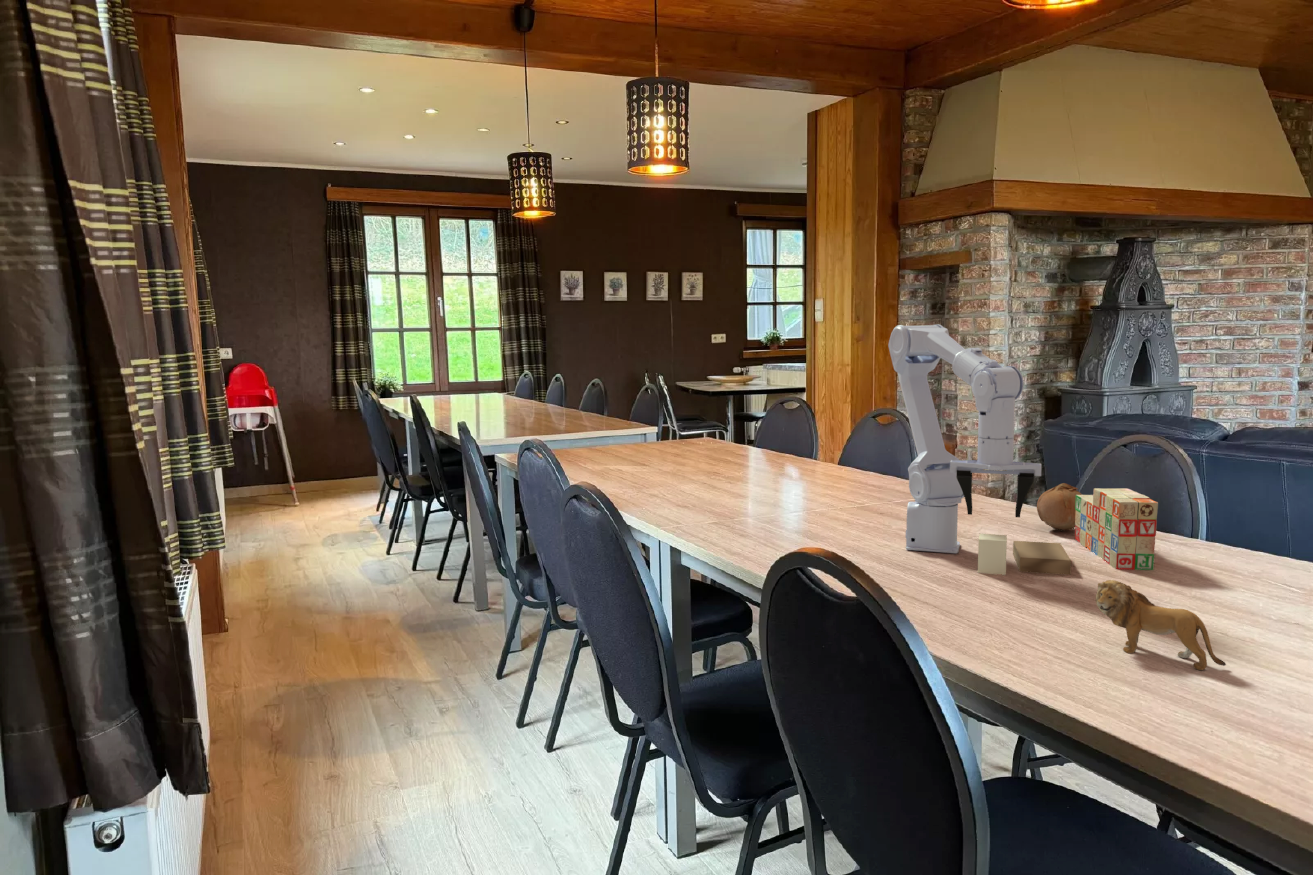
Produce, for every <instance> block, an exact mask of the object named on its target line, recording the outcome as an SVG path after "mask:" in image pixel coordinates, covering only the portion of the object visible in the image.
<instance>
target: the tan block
mask: <svg viewBox="0 0 1313 875" xmlns="http://www.w3.org/2000/svg"><path fill="white" fill-rule="evenodd" d="M1012 555H1013V558H1014V560H1015V563H1016V566H1017V568H1018V571H1019V572H1021V573H1031V574H1032V573H1036V574H1048V575H1049V574H1051V575H1064V574H1065V575H1066V576H1071V571H1072V570H1071V569H1072V560H1071V558H1070V556H1069V555H1068V553H1067V551H1066V550H1065V549H1064V547H1063V545H1062V544H1061V542H1046V541H1045V542H1043V541H1025V540H1024V541H1022V540H1013V541H1012Z"/></svg>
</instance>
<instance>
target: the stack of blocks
mask: <svg viewBox="0 0 1313 875" xmlns="http://www.w3.org/2000/svg"><path fill="white" fill-rule="evenodd" d="M1075 510H1076V514H1075V527H1074V540H1075V539H1076V540H1075V541H1077V543H1078V544H1080V543H1081V544H1080V545H1082V546H1083V547H1084V546H1085V548H1086V547H1087V548H1088V549H1089V550H1088V549H1087V548H1086V549H1087V550H1088V551H1089V552H1092V553H1093V552H1094V553H1095V554H1094V553H1093V554H1094V555H1096V556H1097V557H1098V558H1100V557H1101V558H1102V559H1101V558H1100V559H1101V560H1103V561H1104V562H1105V561H1106V562H1105V563H1106V564H1108V565H1109V566H1110V567H1112V568H1114V569H1115V570H1129V571H1130V570H1131V571H1132V570H1133V571H1136V570H1137V571H1154V566H1155V565H1154V564H1155V548H1156V547H1155V544H1156V536H1157V523H1158V520H1157V519H1158V510H1159V502H1158V501H1155V500H1153V499H1151V498H1150V497H1149V496H1147V495H1145V494H1141V493H1139V492H1137V491H1134V490H1132V489H1130V488H1098V487H1097V488H1096V487H1095V488H1093V494H1082V495H1076V498H1075Z"/></svg>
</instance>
